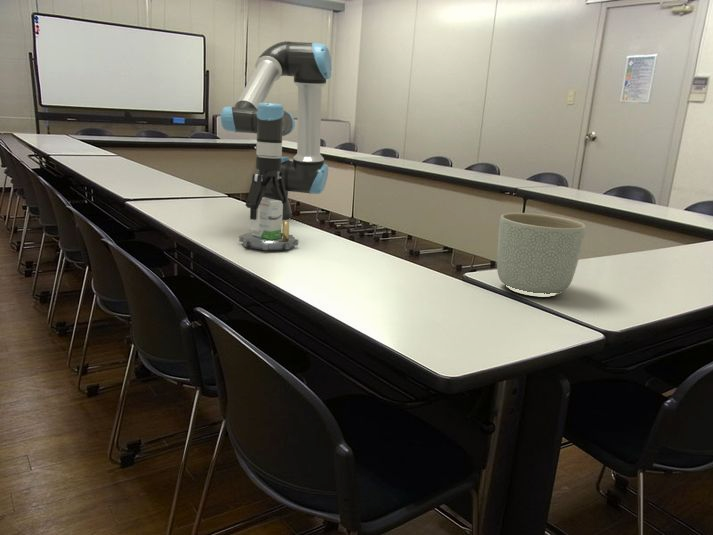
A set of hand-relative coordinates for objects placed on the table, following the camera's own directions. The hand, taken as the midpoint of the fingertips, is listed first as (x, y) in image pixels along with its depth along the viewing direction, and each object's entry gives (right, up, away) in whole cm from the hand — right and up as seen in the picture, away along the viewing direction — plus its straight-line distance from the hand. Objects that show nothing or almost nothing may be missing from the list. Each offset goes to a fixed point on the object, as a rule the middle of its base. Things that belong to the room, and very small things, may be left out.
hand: (266, 226), depth 177 cm
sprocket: (0, -6, +1) cm, 6 cm away
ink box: (0, -3, +1) cm, 3 cm away
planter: (+74, -19, -26) cm, 80 cm away
